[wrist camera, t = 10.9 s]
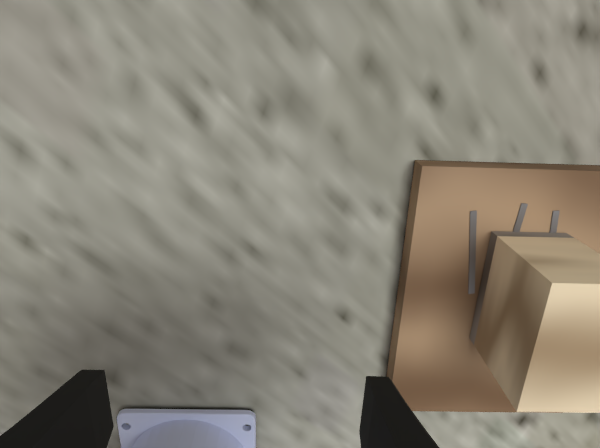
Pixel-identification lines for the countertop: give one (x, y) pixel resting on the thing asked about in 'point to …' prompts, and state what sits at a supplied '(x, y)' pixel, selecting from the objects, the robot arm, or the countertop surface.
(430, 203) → the board
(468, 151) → the countertop surface
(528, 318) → the block
